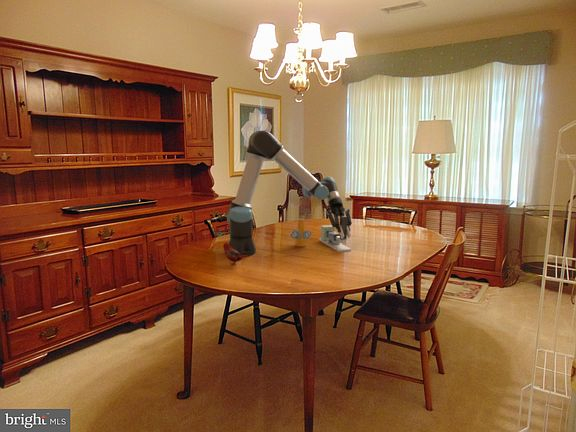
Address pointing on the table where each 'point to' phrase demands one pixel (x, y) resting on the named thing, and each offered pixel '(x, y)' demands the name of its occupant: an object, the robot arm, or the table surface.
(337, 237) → the grey upright bracket
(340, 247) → the base plate
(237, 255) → the decorative bird figurine
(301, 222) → the orange grey upright piece
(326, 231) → the socket block
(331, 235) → the outer sleeve
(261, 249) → the table surface
